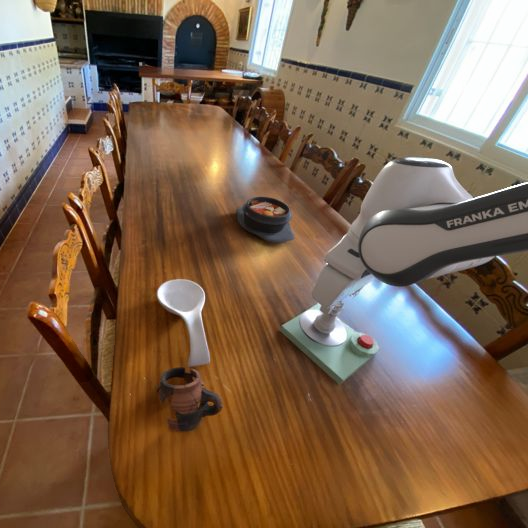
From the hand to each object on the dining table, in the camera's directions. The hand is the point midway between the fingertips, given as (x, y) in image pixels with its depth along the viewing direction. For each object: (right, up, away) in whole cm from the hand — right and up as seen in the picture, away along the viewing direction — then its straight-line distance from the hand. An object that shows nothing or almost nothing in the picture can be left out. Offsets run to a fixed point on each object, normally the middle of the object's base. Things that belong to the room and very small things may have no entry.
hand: (338, 302), depth 61 cm
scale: (+1, -10, +7) cm, 12 cm away
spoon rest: (-31, -6, +9) cm, 33 cm away
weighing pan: (-1, -7, +6) cm, 9 cm away
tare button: (+8, -10, +4) cm, 13 cm away
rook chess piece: (-1, -6, +6) cm, 8 cm away
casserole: (-3, +21, +45) cm, 50 cm away
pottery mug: (-32, -19, -6) cm, 37 cm away
